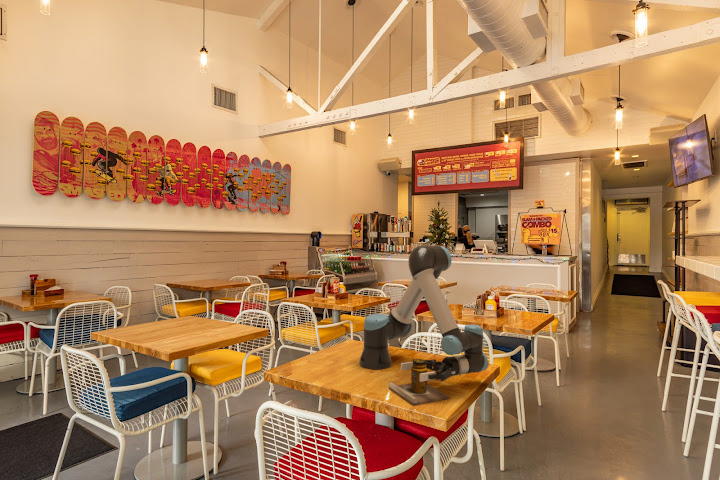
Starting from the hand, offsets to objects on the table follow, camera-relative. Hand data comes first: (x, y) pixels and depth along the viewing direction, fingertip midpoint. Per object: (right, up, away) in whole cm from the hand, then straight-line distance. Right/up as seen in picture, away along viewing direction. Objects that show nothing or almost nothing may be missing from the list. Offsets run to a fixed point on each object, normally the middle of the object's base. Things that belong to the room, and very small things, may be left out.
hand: (410, 372), depth 152 cm
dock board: (+3, -9, +2) cm, 10 cm away
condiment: (+3, -8, +2) cm, 9 cm away
